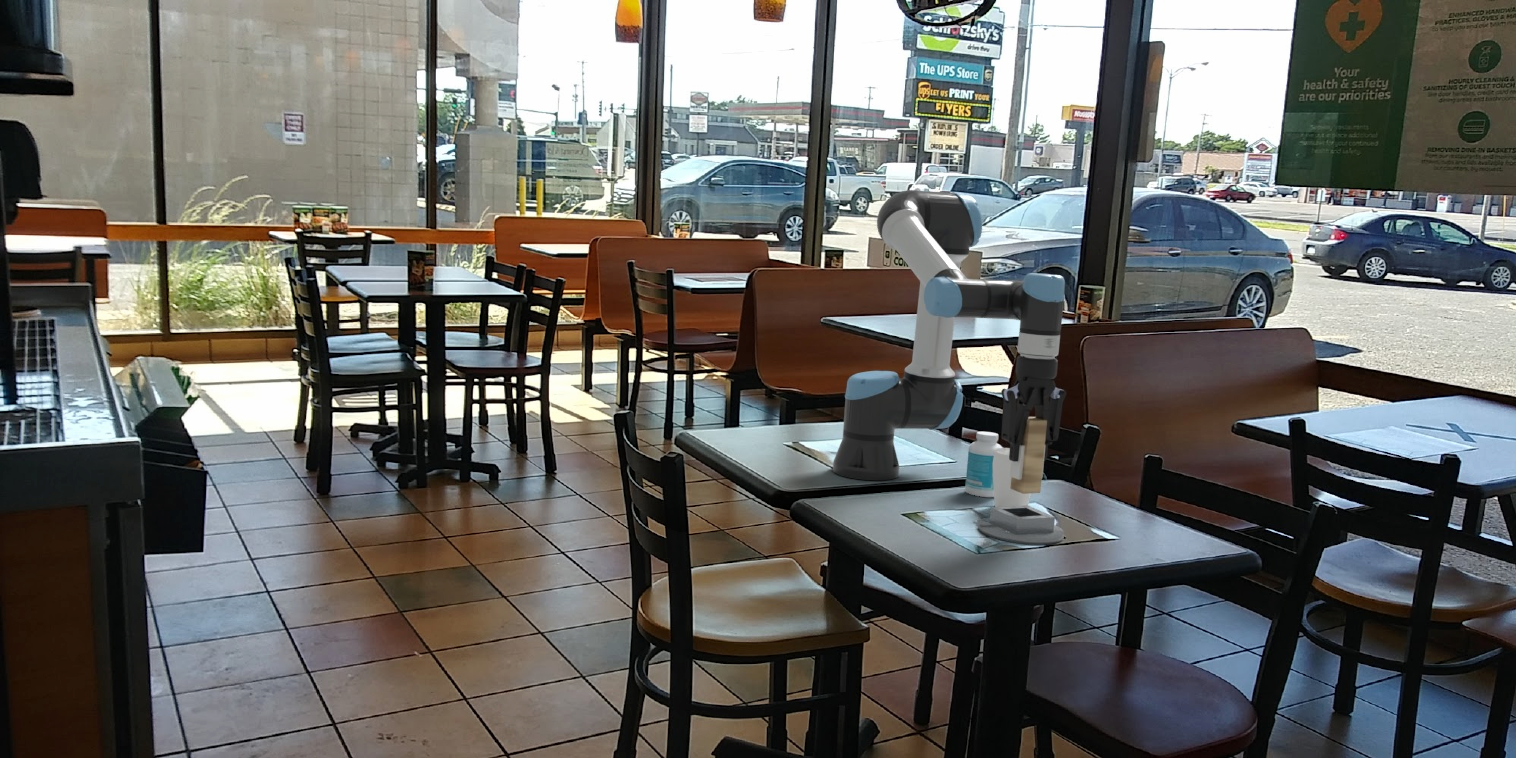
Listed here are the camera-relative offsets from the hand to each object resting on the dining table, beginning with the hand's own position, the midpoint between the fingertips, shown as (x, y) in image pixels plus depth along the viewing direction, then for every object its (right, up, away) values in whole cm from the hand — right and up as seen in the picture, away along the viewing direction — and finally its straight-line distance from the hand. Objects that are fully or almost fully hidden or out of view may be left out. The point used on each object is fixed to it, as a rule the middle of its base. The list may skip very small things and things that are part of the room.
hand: (1026, 477), depth 218 cm
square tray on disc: (-1, -11, +2) cm, 11 cm away
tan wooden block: (0, -3, 0) cm, 3 cm away
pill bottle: (-2, -7, +31) cm, 32 cm away
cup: (+1, -9, +20) cm, 22 cm away
